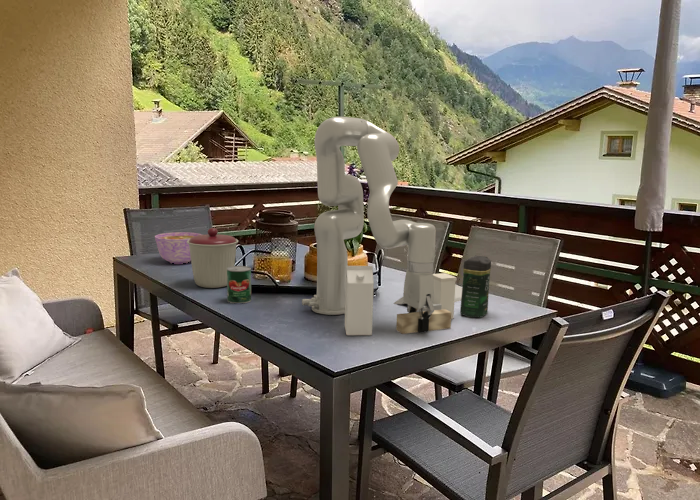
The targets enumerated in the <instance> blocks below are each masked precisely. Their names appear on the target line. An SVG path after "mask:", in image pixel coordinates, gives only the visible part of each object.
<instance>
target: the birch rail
mask: <svg viewBox="0 0 700 500" xmlns="http://www.w3.org/2000/svg"><path fill="white" fill-rule="evenodd" d="M424 312H425V311H423V313H424ZM418 319H420V315H419V312H413V313H409V312H407V313H405V312H404V313H397V314H396V325H395V326H396V327H395V328H396V331H397V332H398V333H400V334H402V335H405V334H412V333H419V332H418ZM451 327H452V319H451V312H450V311H448V310H446V309H442V310H434V312H433V313H432V314H431V316H430V319H429V331H428V332H431V331H438V330H439V331H440V330H447V329H451Z"/></svg>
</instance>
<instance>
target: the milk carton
mask: <svg viewBox="0 0 700 500" xmlns="http://www.w3.org/2000/svg"><path fill="white" fill-rule="evenodd" d="M373 267H374V266H373V265H347V272H346V289H345V314H344V330H345V333H346V334H345V335H346V336H372V335H373V318H374V317H373V313H374V310H373V309H374V285H375V284H374V274H373V273H374V272H373Z"/></svg>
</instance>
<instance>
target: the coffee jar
mask: <svg viewBox="0 0 700 500" xmlns="http://www.w3.org/2000/svg"><path fill="white" fill-rule="evenodd" d="M491 267H492V260H491V259H490V258H489V257H488V256H485V255H484V256H483V255H474V256H472V257H469V258H467V259H465V260H464V261H463V266H462V268H463V270H462V287H461V288H462V297H461V301H460V310H459V311H460V314H461V315H462V316H466V317H467V318H482V317H484V316H486V315H487V314H488V312H489V311H488V309H489V295H490V294H489V293H490V292H489V290H490V279H491V269H492V268H491Z"/></svg>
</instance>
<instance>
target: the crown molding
mask: <svg viewBox="0 0 700 500" xmlns="http://www.w3.org/2000/svg"><path fill="white" fill-rule="evenodd" d="M461 297H462V287H461V286H460V285H458V284H457V283H455V300H454V303H457V302H461ZM393 304H394V305H401V306H402V305H406V303H405V302H404V301H403V296H401V297H400V298H399V299H397V300H395V302H393Z"/></svg>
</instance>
